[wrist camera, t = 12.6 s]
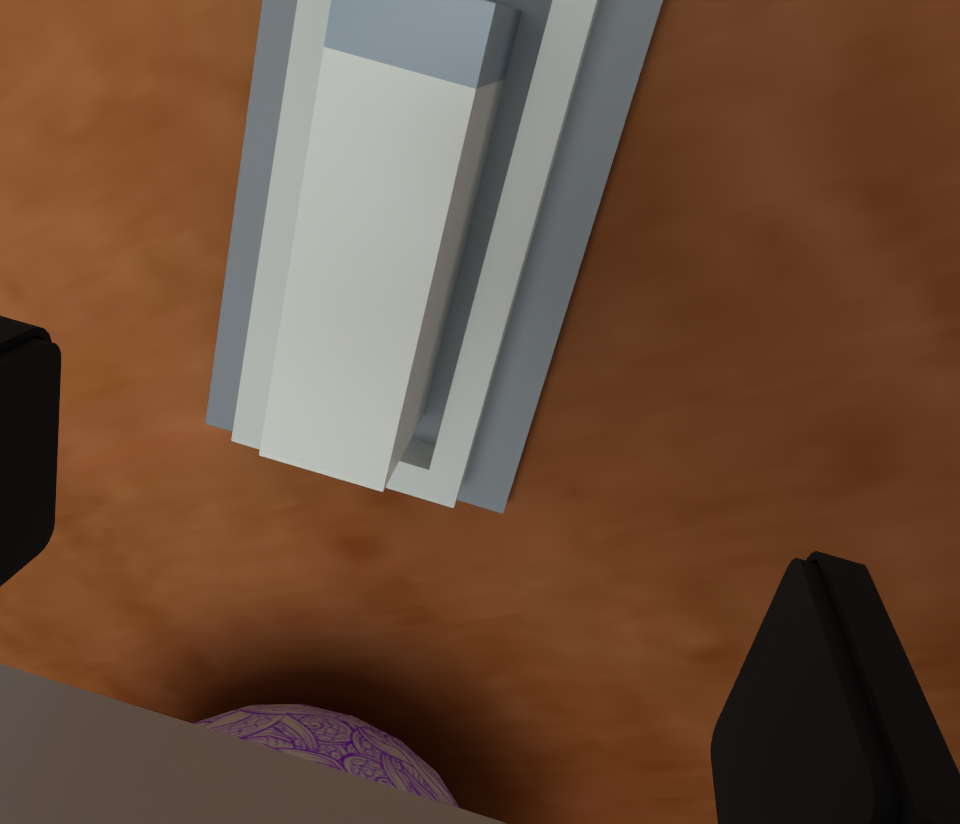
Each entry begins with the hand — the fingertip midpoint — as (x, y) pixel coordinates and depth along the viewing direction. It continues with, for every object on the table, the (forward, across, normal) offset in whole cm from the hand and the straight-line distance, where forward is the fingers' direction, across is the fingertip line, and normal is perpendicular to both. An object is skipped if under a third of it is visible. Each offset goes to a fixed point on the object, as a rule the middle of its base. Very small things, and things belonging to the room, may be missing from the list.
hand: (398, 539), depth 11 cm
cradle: (+21, +5, +1) cm, 21 cm away
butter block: (+20, +5, +1) cm, 20 cm away
